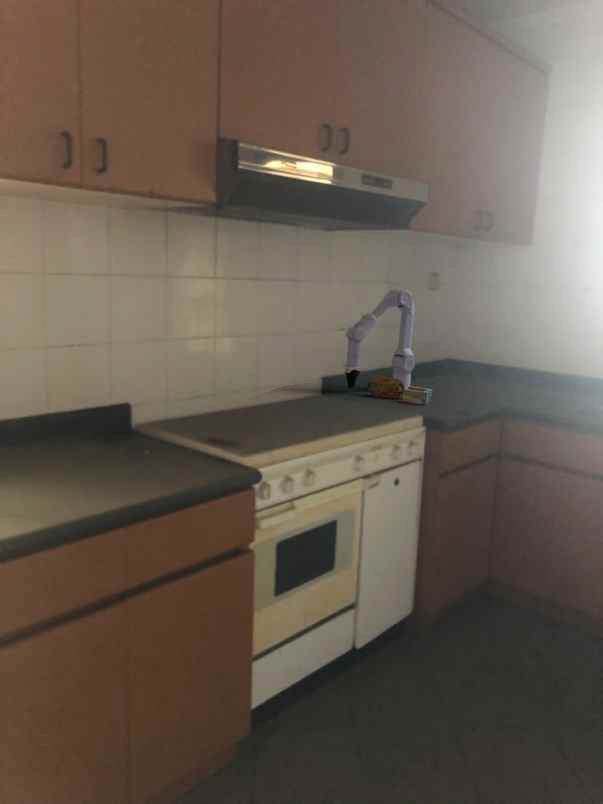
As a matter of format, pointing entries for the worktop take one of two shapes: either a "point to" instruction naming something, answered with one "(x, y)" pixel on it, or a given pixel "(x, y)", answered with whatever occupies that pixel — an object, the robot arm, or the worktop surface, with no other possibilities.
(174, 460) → the worktop surface
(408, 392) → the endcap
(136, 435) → the worktop surface
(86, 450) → the worktop surface
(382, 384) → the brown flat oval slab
